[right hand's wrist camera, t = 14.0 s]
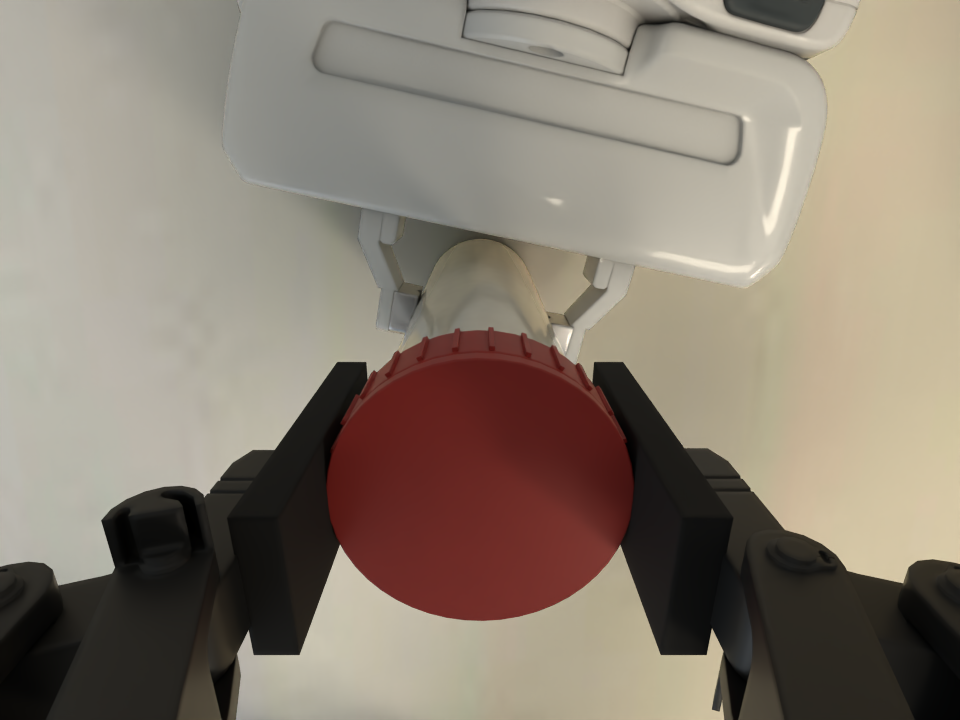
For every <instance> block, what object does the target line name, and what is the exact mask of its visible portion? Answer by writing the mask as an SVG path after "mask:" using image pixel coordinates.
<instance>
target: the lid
mask: <svg viewBox="0 0 960 720" xmlns="http://www.w3.org/2000/svg"><path fill="white" fill-rule="evenodd" d="M341 424H342V425H343V426H342V428H341V430H340V432H339V434H338V436H337V438H336V440H335V442H334V444H333V446H332V448H331V451H330V453H331V457H330V461H329V465H328V469H327V479H326V488H327V497H328V506H329V514H330V521H331V524H332V527H333V529H334V532H335V535H336V537H337V539H338V541H339V543H340V545H341V546H342V548H343V550H344V552H345V553H346V555H347V556H348V557H349V559H350V560H351V561H352V563H353V564H354V565H355V567H356V568H357V569H358V570H359V571H360V572H361V573H362V574H363V575H364V576H365V577H366V578H367V579H368V580H369V581H370V582H372V583H373V584H374V585H375V586H377V587H378V588H379V589H380V590H382V591H383V592H385V593H387V594H388V595H390V596H391V597H393V598H394V599H396V600H398V601H400V602H402V603H404V604H406V605H408V606H411V607H413V608H416V609H418V610H421V611H424V612H427V613H430V614H434V615H438V616H442V617H446V618H453V619H461V620H477V621H487V620H501V619H507V618H513V617H519V616H523V615H526V614H530V613H534V612H537V611H540V610H542V609H545V608H547V607H550V606H552V605H554V604H556V603H558V602H560V601H562V600H564V599H566V598H568V597H570V596H571V595H573V594H574V593H575V592H577V591H578V590H580V589H581V588H583V587H584V586H585V585H586V584H588V583H589V582H590V581H591V580H592V579H593V578H594V577H596V576H597V575H598V574H599V573H600V571H601V570H602V569H603V568H604V567H605V566H606V565H607V564H608V562H609V561H610V559H611V558H612V557H613V555H614V554H615V552H616V551H617V549H618V548H619V546H620V544H621V542H622V540H623V538H624V536H625V533H626V531H627V528H628V525H629V522H630V518H631V510H632V502H633V492H634V476H633V469H632V463H631V460H630V457H629V453H628V450H627V447H626V445H625V443H627V439H626V437H625V435H624V433H623V431H622V429H621V427H620V426H619V424H618V422H617V420H616V418H615V416H614V413H613V411H612V409H611V407H610V405H609V403H608V401H607V399H606V397H605V396H604V394H603V392H602V390H601V388H600V387H599V386H597V387H595V386H594V385H593V384H592V382H591V381H590V380H589V378H588V377H587V375H586V373H585V371H584V369H583V367H582V365H580V364H579V363H578V364H576V365H575V364H573V363H572V362H571V361H570V360H569V359H567V358H566V357H565V356H563V355H562V354H560V353H559V352H558V349H557V347H556V346H554V345H552V346H551V347H548V346H546V345H544V344H542V343H539V342H537V341H535V340H533V339H529V338H527V334H526V333H521V336H520V335H516V334H511V333H505V332H500V331H494V327H488V331H486V330H472V331H460V328H456V329H455V331H454V333H449V334H445V335H440V336H437V337H434V338H431V339H428V336H426V337H423V338H422V342H420V343H418V344H416V345H414V346H412V347H410V348H408V349H406V350H405V351H403V352H402V353H400V352H399V351H396V352H395V353H394V355H393V357H392V359H391V360H390V361H389V362H388V363H387V364H386V365H385V366H383V367H382V368H381V369H380V370H379V371H378V372H376V371H373V372H372V373H371V375H370V376H369V378H368V380H367V382H366V384H365V386H364V388H363V390H362V392H361V394H360V396H359V395H357V394H356V395H355V397H354V399H353V401H352V403H351V405H350V407H349V409H348V410H347V412H346V414H345V416H344V418H343V420H342V422H341Z"/></svg>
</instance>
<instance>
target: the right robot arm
mask: <svg viewBox="0 0 960 720" xmlns="http://www.w3.org/2000/svg"><path fill="white" fill-rule="evenodd" d="M367 380H368V379H367V367H366V362H337V363H336V365H335V366H334V368H333V369H332V370H331V372H330V373H329V375H328V376H327V377H326V379H325V380H324V382H323V383H322V384H321V386H320V387H319V389H318V390H317V392H316V393H315V394H314V396H313V397H312V399H311V400H310V401H309V403H308V404H307V406H306V407H305V408H304V410H303V411H302V413H301V414H300V415H299V417H298V418H297V420H296V421H295V422H294V424H293V425H292V427H291V428H290V429H289V431H288V432H287V434H286V435H285V437H284V438H283V439H282V441H281V442H280V444H279V445H278V446H277V448H276V449H275V450H252V451H251V452H249V453H248V454H246V455H245V456H243V457H241V458H240V459H238V460H237V461H235V462H234V463H232V465H231V466H230V467H229V468H228V469H227V471H226V472H225V473H224V474H223V475H222V477H221V480H220V481H218V482H217V483H216V484H215V485H214V486H213V488H212V489H211V490H210V494H207V495H206V496H205V497H204V495H203V494H202V493H201V492H199V491H198V490H197V489H195V488H190V487H185V486H172V487H162V488H158V489H154V490H150V491H145V492H143V493H141V494H138V495H136V496H133V497H131V498H129V499H126V500H125V501H123V502H122V503H120V504H119V505H117V506H116V507H114V508H112V509H111V510H110V511H109V512H108V513H107V515H106V516H105V517H104V518H103V519H102V520H101V521H102V525H103V528H104V531H105V535H106V538H107V542H108V545H109V548H110V552H111V555H112V558H113V562H114V565H115V569H114V571H113V573H112V574H109V575H105V576H101V577H97V578H92V579H87V580H83V581H78V582H73V583H69V584H64V585H59V586H58V584H57V581H56V578H55V575H54V573H53V570H52V569H51V568H50V567H48V566H47V565H46V564H44V563H36V562H23V563H17V564H10V565H6V566H2V567H0V720H236V712H237V704H238V695H239V687H240V678H241V674H240V667H239V661H238V656H237V652H238V650H239V648H240V646H241V644H242V642H243V640H244V638H245V636H246V634H247V632H248V630H249V633H250V638H251V643H252V648H253V653H254V655H300V652H301V649H302V647H303V644H304V641H305V638H306V636H307V633H308V630H309V627H310V625H311V622H312V619H313V617H314V614H315V611H316V608H317V606H318V603H319V600H320V597H321V595H322V592H323V589H324V586H325V584H326V581H327V578H328V576H329V573H330V570H331V567H332V565H333V562H334V559H335V556H336V554H337V551H338V548H339V545H340V543H339V541H338V539H337V537H336V535H335V532H334V529H333V527H332V524H331V521H330V514H329V506H328V497H327V488H326V479H327V469H328V465H329V461H330V457H331V453H330V451H331V448H332V446H333V444H334V442H335V440H336V438H337V436H338V434H339V432H340V430H341V428H342V426H343V425H342V424H341V422H342V420H343V418H344V416H345V414H346V412H347V410H348V409H349V407H350V405H351V403H352V401H353V399H354V397H355V395H356V394H357V395H359V396H360V394H361V392H362V390H363V388H364V386H365V384H366V382H367ZM593 385H594V386H595V387H597V386H599V387H600V388H601V390H602V392H603V394H604V396H605V397H606V399H607V401H608V403H609V405H610V407H611V409H612V411H613V413H614V416H615V418H616V420H617V422H618V424H619V426H620V427H621V429H622V431H623V433H624V435H625V437H626V439H627V443H625V445H626V447H627V450H628V453H629V457H630V460H631V463H632V469H633V476H634V492H633V502H632V510H631V518H630V522H629V525H628V528H627V531H626V533H625V536H624V538H623V540H622V542H621V544H620V545H621V547H622V550H623V553H624V556H625V558H626V561H627V564H628V566H629V569H630V572H631V575H632V577H633V580H634V583H635V586H636V588H637V591H638V594H639V597H640V599H641V602H642V605H643V607H644V610H645V613H646V616H647V618H648V621H649V624H650V627H651V629H652V632H653V635H654V637H655V640H656V643H657V646H658V648H659V651H660V654H661V655H707V650H708V645H709V640H710V635H711V630H712V629H713V631H714V633H715V635H716V637H717V639H718V641H719V643H720V645H721V647H722V649H723V651H724V652H723V656H722V661H721V666H720V671H719V675H718V680H717V685H716V689H715V694H714V700H713V706H712V710H716V711H720V707H721V702H723V711H724V720H960V564H957V563H953V562H946V561H940V560H934V559H932V560H922V561H917V562H915V563H914V564H913V565H911V566H910V567H909V568H908V571H907V574H906V577H905V580H904V583H898V582H894V581H889V580H884V579H879V578H875V577H870V576H865V575H861V574H856V573H853V572H849V571H847V570H846V568H845V566H844V565H843V564H842V562H841V561H840V560H839V558H838V557H837V556H836V554H834V553H833V552H832V551H830V550H829V549H828V548H826V547H825V546H824V545H822V544H821V543H819V542H816V541H814V540H812V539H810V538H808V537H806V536H804V535H800V534H797V533H793V532H789V531H786V530H784V528H783V527H782V526H781V525H780V524H779V522H778V521H777V520H776V519H775V518H774V516H773V515H772V514H771V513H770V512H769V510H768V509H767V508H766V507H765V505H764V504H763V503H762V502H761V501H760V499H759V498H758V497H757V496H756V495H755V493H754V492H751V490H750V487H749V486H748V485H747V484H746V482H745V481H744V480H743V479H740V475H739V474H738V473H737V472H736V470H735V469H734V468H733V467H732V466H731V464H730V463H729V462H728V461H727V460H725V459H724V458H722V457H720V456H719V455H717V454H716V453H714V452H712V451H711V450H709V449H708V448H684V447H683V446H682V444H681V443H680V442H679V440H678V439H677V437H676V436H675V435H674V433H673V432H672V430H671V429H670V428H669V426H668V425H667V423H666V422H665V421H664V419H663V418H662V416H661V415H660V414H659V412H658V411H657V409H656V408H655V406H654V405H653V404H652V402H651V401H650V399H649V398H648V397H647V395H646V394H645V392H644V391H643V390H642V388H641V387H640V385H639V384H638V383H637V381H636V380H635V378H634V377H633V376H632V374H631V373H630V371H629V370H628V369H627V367H626V366H625V364H624V363H623V362H594V371H593Z"/></svg>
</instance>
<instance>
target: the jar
mask: <svg viewBox="0 0 960 720" xmlns="http://www.w3.org/2000/svg"><path fill="white" fill-rule="evenodd" d="M488 327H494V331H500V332H505V333H511V334H516V335H520V336H521V333H526V334H527V338H529V339H533V340H535V341H537V342H539V343H542V344H544V345H546V346H548V347H551V346H552V345H554V346H556V347H557V349H558V352H559V353H560V354H562V355H563V356H565V354H564V352H563V350H562V347H561V345H560V343H559V340H558V338H557V336H556V334H555V331H554V329H553V327H552V324H551V322H550V320H549V318H548V315H547V313H546V311H545V308H544V306H543V304H542V302H541V299H540V297H539V295H538V292H537V290H536V288H535V286H534V283H533V281H532V279H531V276H530V274H529V272H528V270H527V267H526V265H525V264H524V262H523V261H522V259H521V258H520V257H519V256H518V255H517V254H516V253H515V252H514V251H513V250H512V249H510V248H509V247H507V246H506V245H504V244H502V243H499V242H496V241H493V240H488V239H472V240H467V241H464V242H461V243H459V244H457V245H455V246H453V247H452V248H450V249H449V250H448V251H446V252H445V253H444V254H443V255H442V256H441V258H440V259H439V260H438V262H437V263H436V265H435V267H434V269H433V271H432V273H431V275H430V278H429V280H428V282H427V285H426V287H425V289H424V291H423V294H422V296H421V298H420V300H419V303H418V305H417V307H416V310H415V312H414V314H413V316H412V319H411V321H410V323H409V326H408V328H407V330H406V332H405V335H404V337H403V339H402V341H401V344H400V346H399V348H398V351H399V352H400V353H402V352H403V351H405V350H406V349H408V348H410V347H412V346H414V345H416V344H418V343H420V342H422V338H423V337H426V336H428V339H431V338H434V337H437V336H440V335H445V334H449V333H454V331H455V329H456V328H460V331H472V330H486V331H488ZM565 357H566V356H565Z"/></svg>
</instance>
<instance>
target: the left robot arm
mask: <svg viewBox="0 0 960 720" xmlns="http://www.w3.org/2000/svg"><path fill="white" fill-rule="evenodd" d="M859 3H860V0H237V4H238V8H239V11H240V13H241V14H240V18H239V22H238V27H237V32H236V37H235V42H234V47H233V52H232V58H231V64H230V69H229V76H228V82H227V90H226V98H225V107H224V116H223V127H222V145H223V149H224V152H225V154H226V155H227V157H228V159H229V160H230V162H231V164H232V165H233V167H234V169H235V170H236V172H237V173H238V175H239V176H240V178H241V179H242V180H243V181H245V182H246V183H249V184H253V185H258V186H262V187H267V188H272V189H276V190H281V191H286V192H290V193H295V194H300V195H305V196H309V197H314V198H319V199H323V200H328V201H333V202H337V203H342V204H347V205H352V206H356V207H361V208H362V209H361V217H360V225H359V233H358V241H359V243H360V245H361V248H362V250H363V252H364V255H365V257H366V260H367V262H368V264H369V267H370V269H371V272H372V274H373V276H374V279H375V281H376V284H377V286H378V287H379V288H381V294H380V301H379V308H378V315H377V321H376V329H379V330H383V331H387V332H395V333H400V334H405V332H406V330H407V328H408V326H409V323H410V321H411V319H412V316H413V314H414V312H415V310H416V307H417V305H418V303H419V300H420V298H421V295H422V289H423V286H419V285H414V284H410V283H405V282H404V280H403V277H402V274H401V271H400V269H399V266H398V263H397V260H396V257H395V255H394V252H393V249H392V246H391V245H393V244H394V243H395V242H397V241H398V240H399V239H400V238H401V237H402V236H403V232H404V226H405V220H406V217H408V218H413V219H418V220H422V221H427V222H432V223H436V224H441V225H446V226H450V227H455V228H460V229H465V230H469V231H474V232H479V233H483V234H488V235H493V236H498V237H502V238H507V239H512V240H516V241H521V242H526V243H531V244H535V245H540V246H545V247H549V248H554V249H559V250H563V251H568V252H573V253H578V254H582V255H587V260H586V263H585V267H584V271H583V275H584V276H585V277H586V279H587V280H588V281H589V282H590V283H591V285H590V286H589V287H588V288H587V289H586V290H585V292H584V293H583V294H582V295H581V296H580V297H579V298H578V299H577V300H576V301H575V302H574V303H573V304H572V305H571V306H570V308H569V309H568V310H567V311H566V312H565V313H564V315H563V314H557V313H551V312H546V313H547V315H548V318H549V320H550V322H551V324H552V327H553V329H554V331H555V334H556V336H557V338H558V340H559V343H560V345H561V347H562V350H563V352H564V354H565V356H566V358H567V359H569V360H570V361H571V362H572V363H573V364H576V362H577V359H578V355H579V352H580V349H581V345H582V342H583V338H584V335H585V331H586V330H590V329H591V328H592V327H593V326H594V325H595V324H596V323H597V322H598V321H599V320H600V319H601V318H602V317H604V316H605V315H606V314H607V313H608V312H609V311H610V310H611V309H612V308H613V307H614V306H615V305H616V304H617V303H618V302H619V301H620V300H621V299H623V298H624V297H625V296H626V294H627V291H628V288H629V284H630V281H631V278H632V275H633V272H634V269H635V266H639V267H644V268H648V269H653V270H658V271H662V272H667V273H672V274H677V275H681V276H686V277H691V278H695V279H700V280H705V281H709V282H714V283H719V284H724V285H728V286H733V287H738V288H747V287H750V286H751V285H753V284H754V283H756V282H757V281H759V280H760V279H761V278H763V277H764V276H765V275H767V274H768V273H769V272H771V271H772V270H773V269H774V268H776V266H777V265H778V264H779V262H780V261H781V259H782V257H783V255H784V253H785V251H786V249H787V246H788V244H789V242H790V239H791V237H792V234H793V232H794V229H795V226H796V224H797V221H798V218H799V216H800V213H801V210H802V207H803V204H804V201H805V198H806V196H807V192H808V189H809V186H810V183H811V180H812V177H813V173H814V170H815V167H816V163H817V160H818V156H819V153H820V149H821V145H822V141H823V137H824V133H825V127H826V121H827V95H826V90H825V86H824V83H823V81H822V79H821V77H820V75H819V73H818V72H817V71H816V70H815V68H814V67H813V66H812V65H811V64H810V63H808V62H807V61H806V60H807V59H810V58H812V57H815V56H817V55H819V54H821V53H823V52H825V51H827V50H830V49H832V48H833V47H835V46H836V45H838V44H839V43H840V42H841V40H842V39H843V38H844V36H845V35H846V33H847V32H848V30H849V28H850V26H851V24H852V22H853V19H854V17H855V15H856V12H857V11H856V10H857V9H858V6H859Z"/></svg>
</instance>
